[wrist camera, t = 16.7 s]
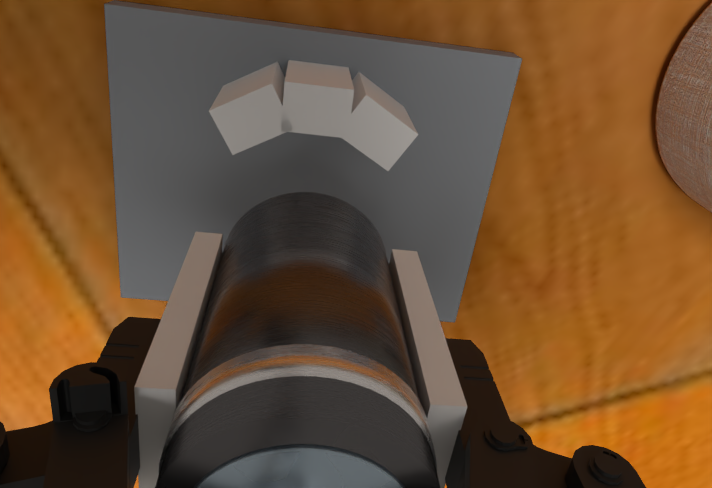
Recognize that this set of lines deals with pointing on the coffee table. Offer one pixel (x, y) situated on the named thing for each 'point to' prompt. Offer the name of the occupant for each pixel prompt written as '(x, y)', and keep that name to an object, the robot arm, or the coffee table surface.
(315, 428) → the lens
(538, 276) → the coffee table surface
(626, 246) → the coffee table surface
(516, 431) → the robot arm
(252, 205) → the mount
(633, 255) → the coffee table surface
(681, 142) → the planter
